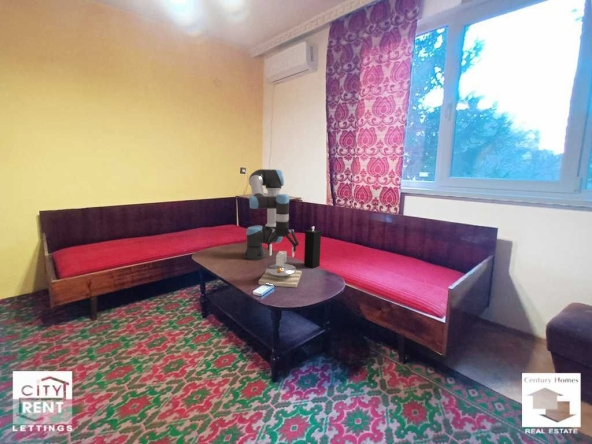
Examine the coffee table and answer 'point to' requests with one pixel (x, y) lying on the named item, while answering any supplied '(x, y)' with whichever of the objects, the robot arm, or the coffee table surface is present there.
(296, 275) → the base plate
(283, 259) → the handwheel
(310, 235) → the black pillar candle
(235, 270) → the coffee table surface
